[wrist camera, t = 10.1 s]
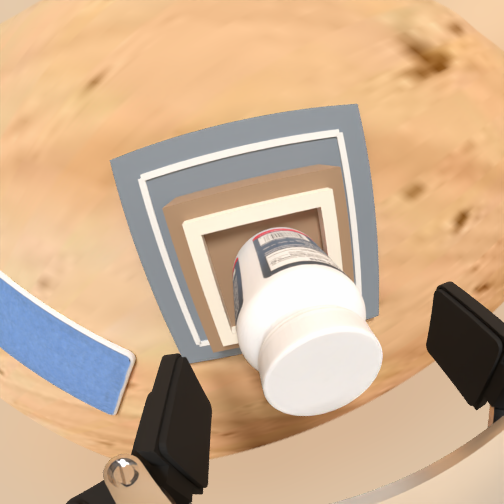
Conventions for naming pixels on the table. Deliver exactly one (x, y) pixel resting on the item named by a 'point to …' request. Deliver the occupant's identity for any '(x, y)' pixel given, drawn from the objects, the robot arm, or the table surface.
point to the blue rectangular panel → (62, 349)
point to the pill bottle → (302, 324)
